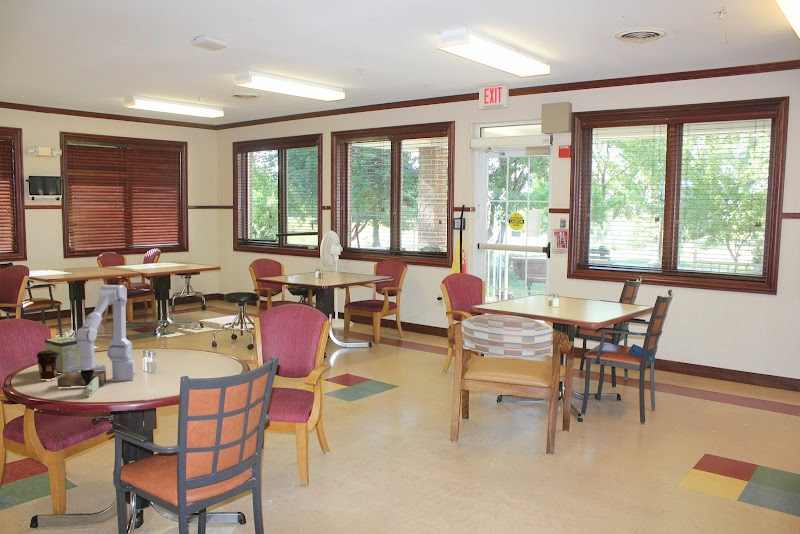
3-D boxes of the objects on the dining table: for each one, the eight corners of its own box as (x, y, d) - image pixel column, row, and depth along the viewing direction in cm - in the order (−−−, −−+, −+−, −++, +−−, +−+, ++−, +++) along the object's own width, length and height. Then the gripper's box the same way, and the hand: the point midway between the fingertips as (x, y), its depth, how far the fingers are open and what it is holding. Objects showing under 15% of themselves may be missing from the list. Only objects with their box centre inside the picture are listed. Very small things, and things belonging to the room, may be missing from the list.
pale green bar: (96, 386, 294) (96, 376, 294) (101, 386, 295) (101, 376, 294) (86, 397, 278) (86, 386, 278) (91, 396, 278) (91, 386, 278)
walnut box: (106, 381, 304) (105, 370, 303) (102, 386, 295) (102, 375, 295) (62, 384, 299) (62, 373, 299) (57, 389, 291) (57, 378, 290)
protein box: (66, 367, 330) (65, 335, 329) (84, 371, 322) (83, 339, 320) (45, 371, 322) (43, 339, 320) (63, 376, 313) (61, 343, 312)
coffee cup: (35, 382, 301) (33, 354, 300) (39, 378, 309) (38, 350, 308) (56, 381, 303) (55, 353, 302) (60, 376, 311) (59, 349, 310)
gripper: (65, 359, 278) (67, 391, 279) (103, 357, 281) (105, 389, 282) (69, 355, 284) (71, 386, 286) (106, 353, 288) (107, 384, 289)
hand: (88, 387), depth 284 cm, fingers closed
